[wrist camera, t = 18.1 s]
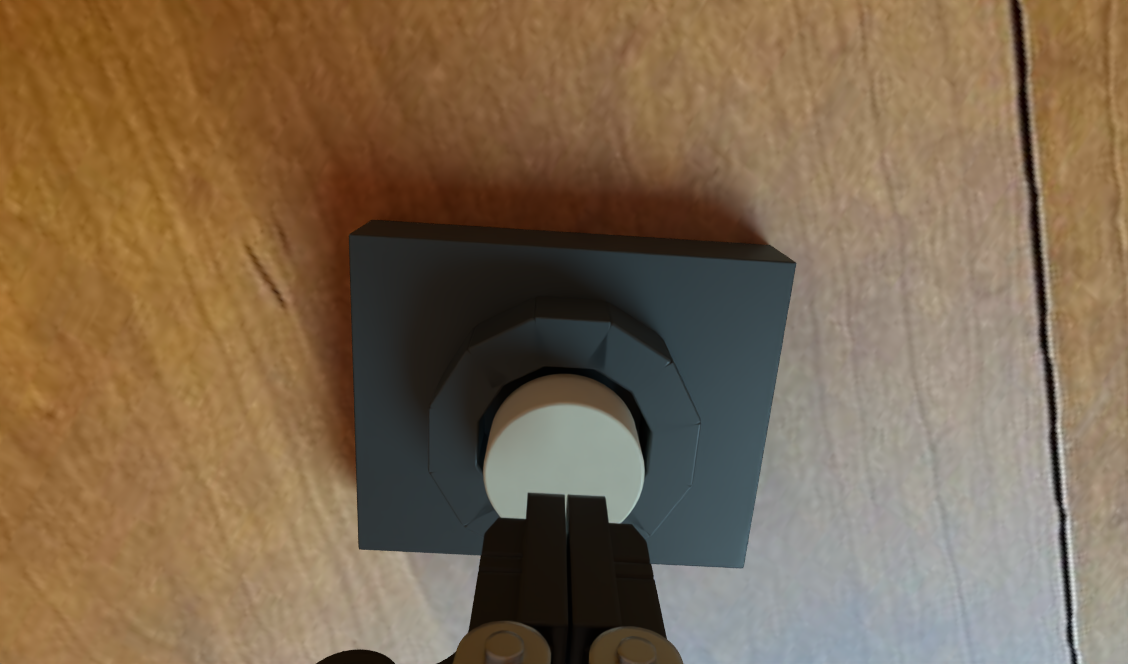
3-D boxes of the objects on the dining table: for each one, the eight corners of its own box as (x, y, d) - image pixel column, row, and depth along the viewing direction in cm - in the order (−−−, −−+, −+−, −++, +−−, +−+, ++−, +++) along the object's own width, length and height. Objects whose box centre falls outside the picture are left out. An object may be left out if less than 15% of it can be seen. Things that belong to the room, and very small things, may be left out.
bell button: (643, 376, 17) (653, 407, 15) (629, 507, 18) (636, 550, 16) (492, 367, 16) (484, 397, 15) (487, 500, 18) (480, 542, 16)
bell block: (771, 244, 19) (823, 279, 16) (726, 525, 22) (761, 612, 18) (370, 219, 19) (324, 249, 15) (377, 507, 22) (339, 592, 18)
